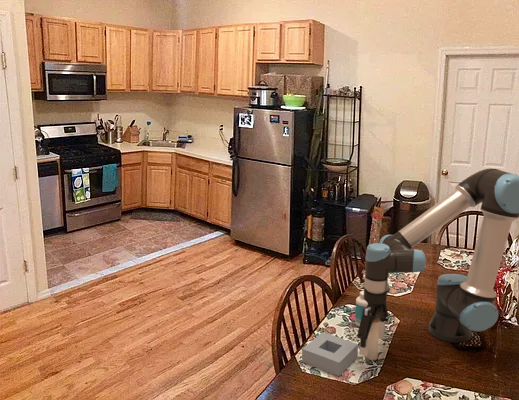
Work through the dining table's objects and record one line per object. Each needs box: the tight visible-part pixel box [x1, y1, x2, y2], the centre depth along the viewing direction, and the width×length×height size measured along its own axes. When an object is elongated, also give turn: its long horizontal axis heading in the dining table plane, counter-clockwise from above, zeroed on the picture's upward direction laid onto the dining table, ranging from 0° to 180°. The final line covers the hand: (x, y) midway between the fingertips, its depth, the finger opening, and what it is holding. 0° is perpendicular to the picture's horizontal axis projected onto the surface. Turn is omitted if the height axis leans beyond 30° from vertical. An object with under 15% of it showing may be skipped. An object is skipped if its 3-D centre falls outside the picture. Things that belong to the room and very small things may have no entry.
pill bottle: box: [354, 290, 368, 327], centre depth 186 cm, size 8×7×14 cm
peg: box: [365, 315, 380, 361], centre depth 163 cm, size 4×4×15 cm
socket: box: [301, 331, 359, 377], centre depth 163 cm, size 14×14×5 cm
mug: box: [357, 260, 390, 293], centre depth 218 cm, size 12×14×15 cm
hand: (371, 346), depth 164 cm, fingers open, 13 cm apart
